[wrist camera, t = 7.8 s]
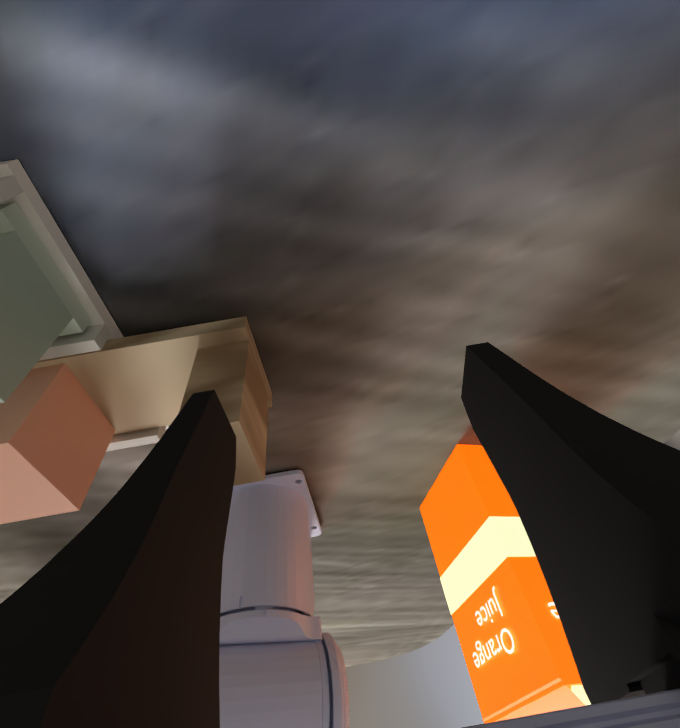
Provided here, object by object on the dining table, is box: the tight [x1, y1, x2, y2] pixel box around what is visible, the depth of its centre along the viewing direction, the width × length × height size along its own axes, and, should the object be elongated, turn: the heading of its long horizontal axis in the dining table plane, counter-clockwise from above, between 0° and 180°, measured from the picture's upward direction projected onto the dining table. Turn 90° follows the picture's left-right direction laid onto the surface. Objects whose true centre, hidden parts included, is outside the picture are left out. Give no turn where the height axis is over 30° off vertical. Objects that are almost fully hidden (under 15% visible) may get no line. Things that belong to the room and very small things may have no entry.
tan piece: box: [32, 316, 273, 486], centre depth 19 cm, size 14×6×6 cm, turn 97°
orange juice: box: [420, 444, 591, 724], centre depth 25 cm, size 8×9×20 cm
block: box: [0, 363, 115, 524], centre depth 18 cm, size 5×5×5 cm
